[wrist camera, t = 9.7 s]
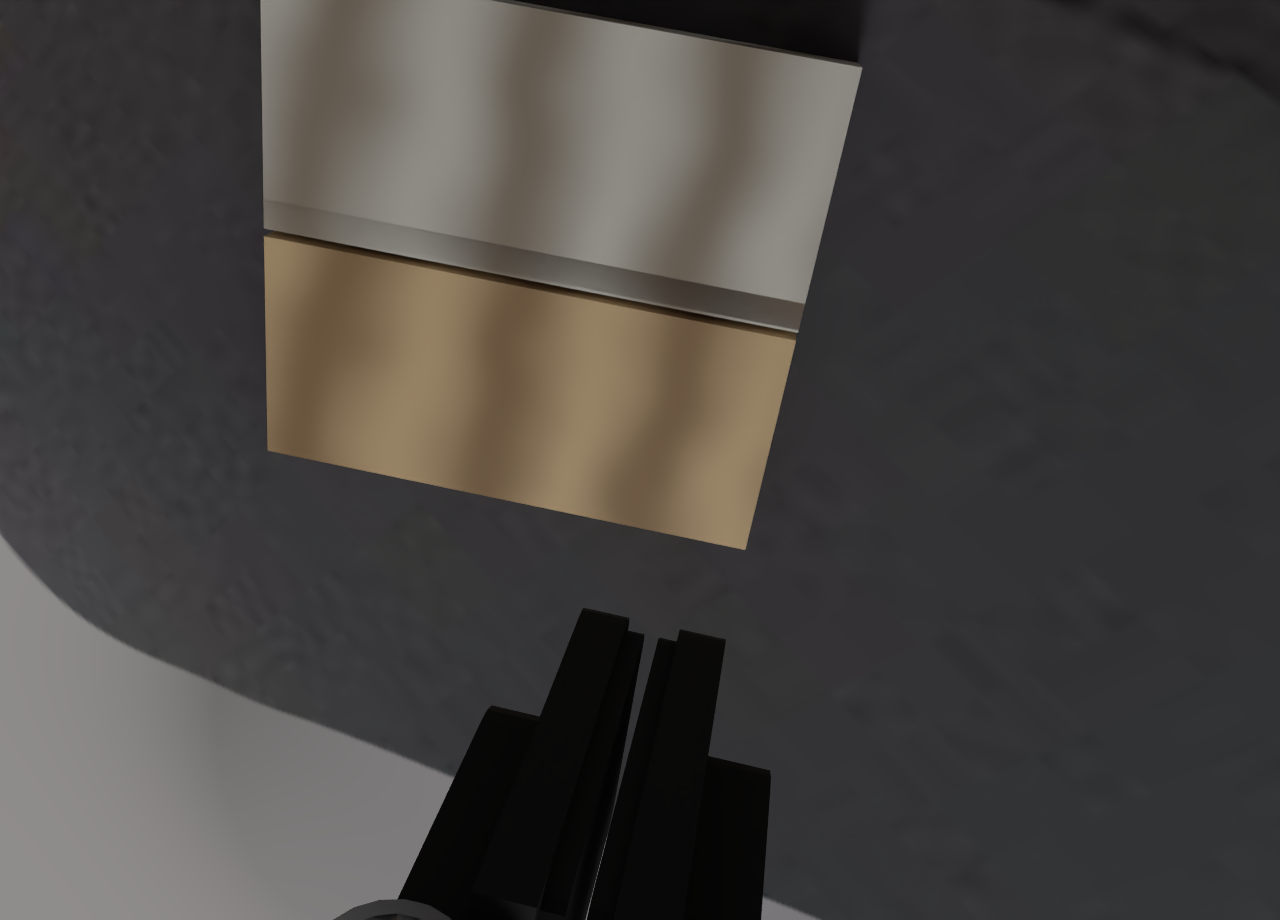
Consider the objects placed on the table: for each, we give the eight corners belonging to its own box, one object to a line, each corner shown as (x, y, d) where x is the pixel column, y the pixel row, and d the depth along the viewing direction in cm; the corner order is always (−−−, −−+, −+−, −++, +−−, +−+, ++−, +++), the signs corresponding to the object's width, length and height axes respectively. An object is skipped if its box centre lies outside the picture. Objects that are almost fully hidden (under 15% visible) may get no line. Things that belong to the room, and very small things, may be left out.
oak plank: (795, 323, 37) (795, 340, 36) (747, 525, 41) (745, 550, 40) (288, 224, 38) (264, 236, 37) (289, 430, 42) (267, 450, 41)
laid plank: (857, 62, 33) (862, 67, 31) (797, 314, 37) (797, 333, 35) (290, -40, 34) (260, -42, 32) (290, 215, 38) (263, 228, 36)
